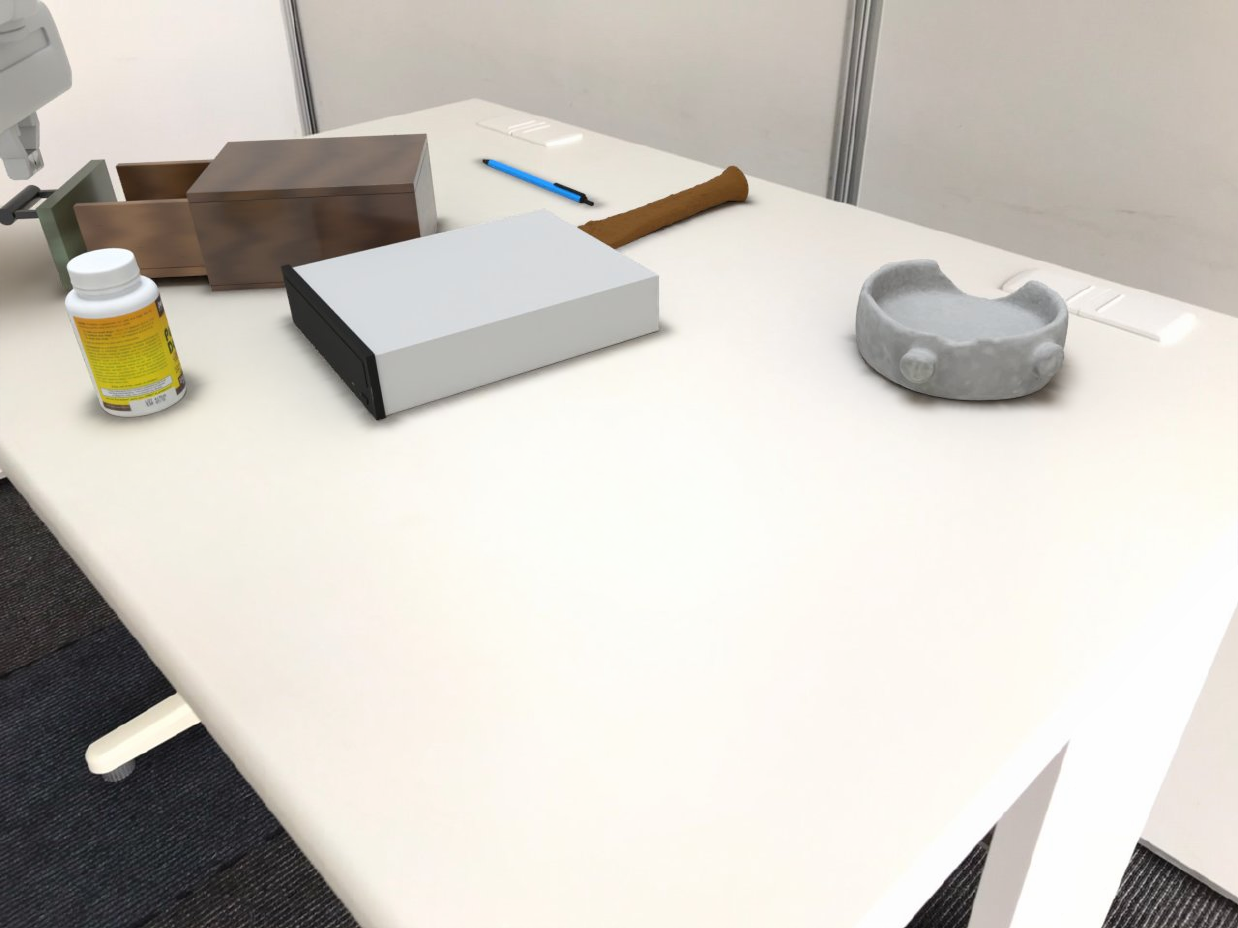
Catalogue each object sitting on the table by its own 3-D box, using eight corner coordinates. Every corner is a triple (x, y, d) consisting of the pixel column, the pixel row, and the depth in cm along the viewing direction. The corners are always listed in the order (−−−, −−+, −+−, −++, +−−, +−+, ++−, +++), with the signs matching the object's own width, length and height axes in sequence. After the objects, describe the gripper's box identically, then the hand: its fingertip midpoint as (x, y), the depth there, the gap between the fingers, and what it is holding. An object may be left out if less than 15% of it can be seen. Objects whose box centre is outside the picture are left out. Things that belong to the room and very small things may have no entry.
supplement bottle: (200, 402, 69) (159, 261, 63) (116, 431, 66) (65, 285, 60) (173, 372, 72) (131, 236, 66) (91, 398, 69) (41, 258, 64)
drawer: (1, 292, 82) (-30, 211, 78) (59, 236, 92) (33, 162, 89) (268, 279, 83) (249, 199, 80) (296, 224, 94) (280, 151, 90)
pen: (589, 209, 98) (588, 198, 97) (479, 165, 110) (478, 154, 110) (596, 207, 98) (595, 196, 98) (486, 163, 111) (485, 153, 110)
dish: (855, 310, 78) (862, 249, 76) (1043, 325, 76) (1058, 262, 73) (847, 403, 67) (855, 336, 64) (1069, 425, 64) (1088, 355, 61)
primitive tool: (600, 256, 88) (599, 217, 86) (562, 239, 92) (560, 202, 90) (753, 205, 98) (755, 169, 96) (714, 192, 102) (715, 157, 100)
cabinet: (212, 295, 83) (185, 193, 78) (249, 234, 94) (227, 141, 90) (427, 284, 84) (413, 182, 79) (438, 225, 95) (426, 133, 91)
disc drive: (292, 326, 78) (278, 265, 75) (546, 259, 88) (542, 204, 85) (375, 425, 66) (363, 357, 63) (660, 335, 76) (661, 273, 73)
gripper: (-15, -29, 84) (38, 139, 92) (-151, 17, 67) (-72, 218, 75) (63, -30, 84) (109, 138, 92) (-52, 15, 67) (16, 216, 75)
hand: (27, 174), depth 83 cm, fingers closed
